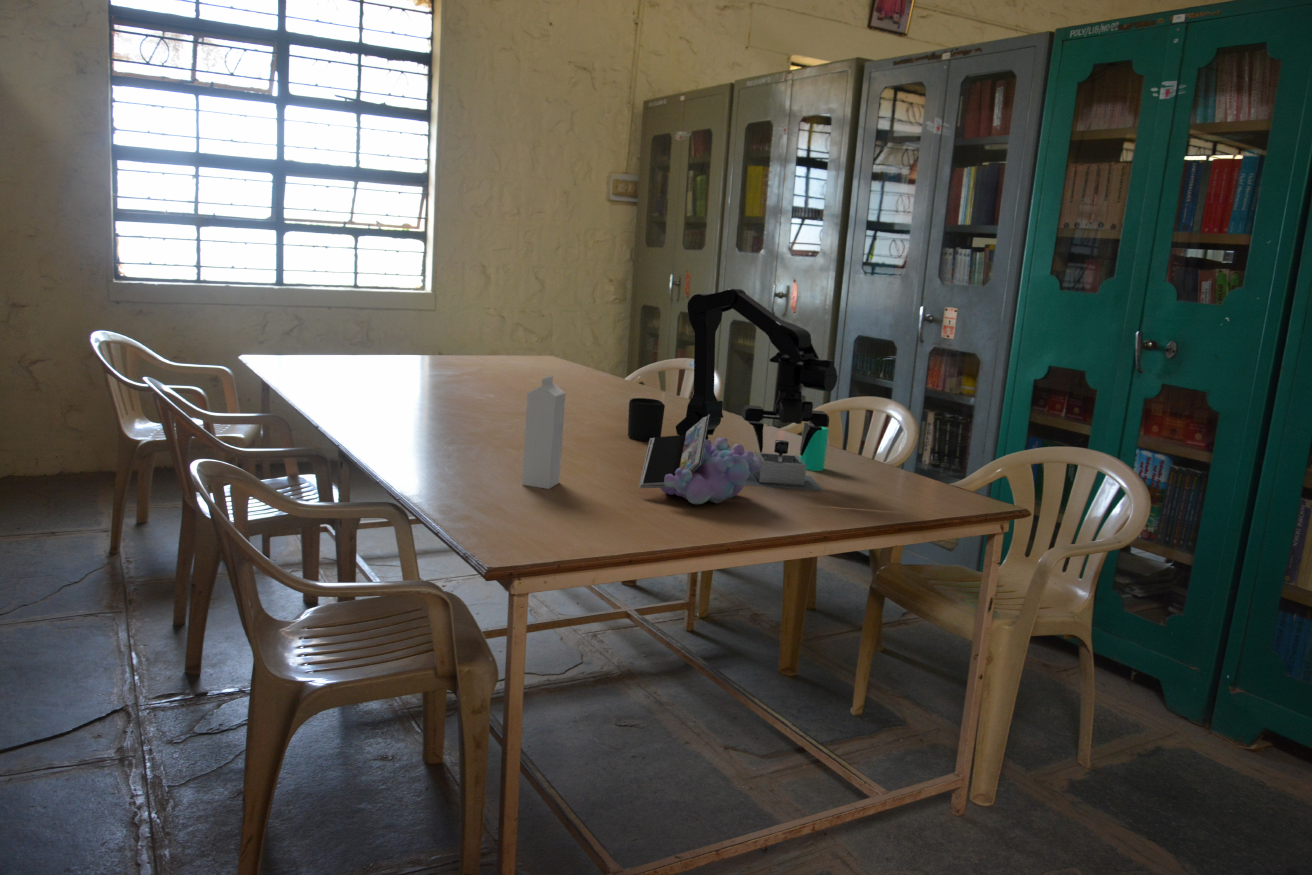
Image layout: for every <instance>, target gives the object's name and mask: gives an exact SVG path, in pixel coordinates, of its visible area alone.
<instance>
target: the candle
mask: <svg viewBox="0 0 1312 875" xmlns="http://www.w3.org/2000/svg"><path fill="white" fill-rule="evenodd" d="M803 429H804V426H803V428H802V430H803ZM828 437H829V427H822V430H818V431H817V432H816V433H815V434H814V435H813V436H812V438H811V439H810V441H809V443H808V445H807V447H806V450H805V452H804V454H803V455H802V456H801V455H800V454H799V457H800V458H801V460H802V461H803V462H804V463H805V464H806V465H807V466H806V471H813V472H819V471H820V472H821V471H824V469H825V462H826V454H827V444H828Z"/></svg>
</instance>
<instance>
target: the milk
mask: <svg viewBox="0 0 1312 875" xmlns="http://www.w3.org/2000/svg"><path fill="white" fill-rule="evenodd" d="M553 380H554V376H553V375H550V376H547V377H542V380H541V385H540V386H539V387H537V388H535V389H533V390H531V391H529V392H527V395H526V408H525V410H526V412H525V413H526V414H525V427H524V439H523V440H524V441H523V442H524V444H523V458H522V460H523V461H522V474H521V475H522V476H521V479H522V480H521V486H528V487H533V488H540V489H547V490H549V489H551V488H553V487H554V486H556V485H558V484H559V483H560V478H561V477H560V476H561V461H562V460H561V459H562V450H563V448H562V447H563V435H564V434H563V433H564V432H563V431H564V418H565V404H566V403H565V402H566V392H565V391H564V390H562V389H561V388H560V387H559V386H557V385H556V384H555V383H554V381H553Z"/></svg>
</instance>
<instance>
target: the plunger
mask: <svg viewBox="0 0 1312 875" xmlns="http://www.w3.org/2000/svg"><path fill="white" fill-rule="evenodd" d="M773 452H774V454H779V456H778V462H782V456H783V454H784V455H788V453H789V441H787V440H783V439H776V440H775V442H774V451H773Z"/></svg>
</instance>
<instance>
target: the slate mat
mask: <svg viewBox="0 0 1312 875" xmlns="http://www.w3.org/2000/svg"><path fill="white" fill-rule="evenodd" d="M745 482H746V484H745V486H748V487H749V486H750V487H751V486H752V487H765V488H778V489H779V488H780V489H790V490H791V489H792V490H807V491H819V492H820V491H822V492H824V491H825V490H824V489H823V488H822V487H821V486H820V485H819V484H818V482H817V481H816V480H815V479H814V477H812V476H811V475H806V474H805V483H804V487H795V486H781V485H767V484H759V483H758V481H757V480H756V478H755V476H754V475H753V473H750V475H749V477H748V478H747V479H746V480H745Z"/></svg>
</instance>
